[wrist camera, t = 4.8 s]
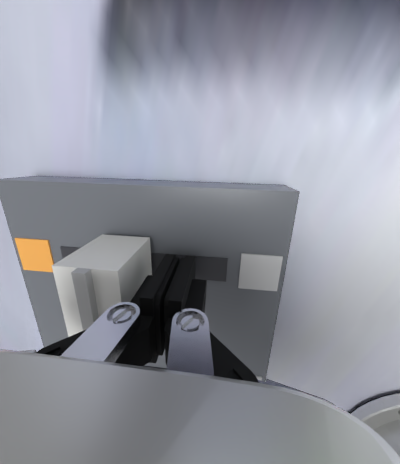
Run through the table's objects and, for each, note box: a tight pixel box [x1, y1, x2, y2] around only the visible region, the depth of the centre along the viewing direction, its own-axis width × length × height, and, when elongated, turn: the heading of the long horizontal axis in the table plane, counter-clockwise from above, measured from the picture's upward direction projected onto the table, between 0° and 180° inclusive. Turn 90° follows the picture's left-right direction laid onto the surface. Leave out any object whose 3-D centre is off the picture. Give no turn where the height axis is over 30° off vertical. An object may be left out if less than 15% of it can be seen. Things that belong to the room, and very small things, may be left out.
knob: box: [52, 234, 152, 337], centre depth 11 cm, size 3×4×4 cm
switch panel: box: [0, 176, 299, 382], centre depth 18 cm, size 18×30×3 cm, turn 179°
